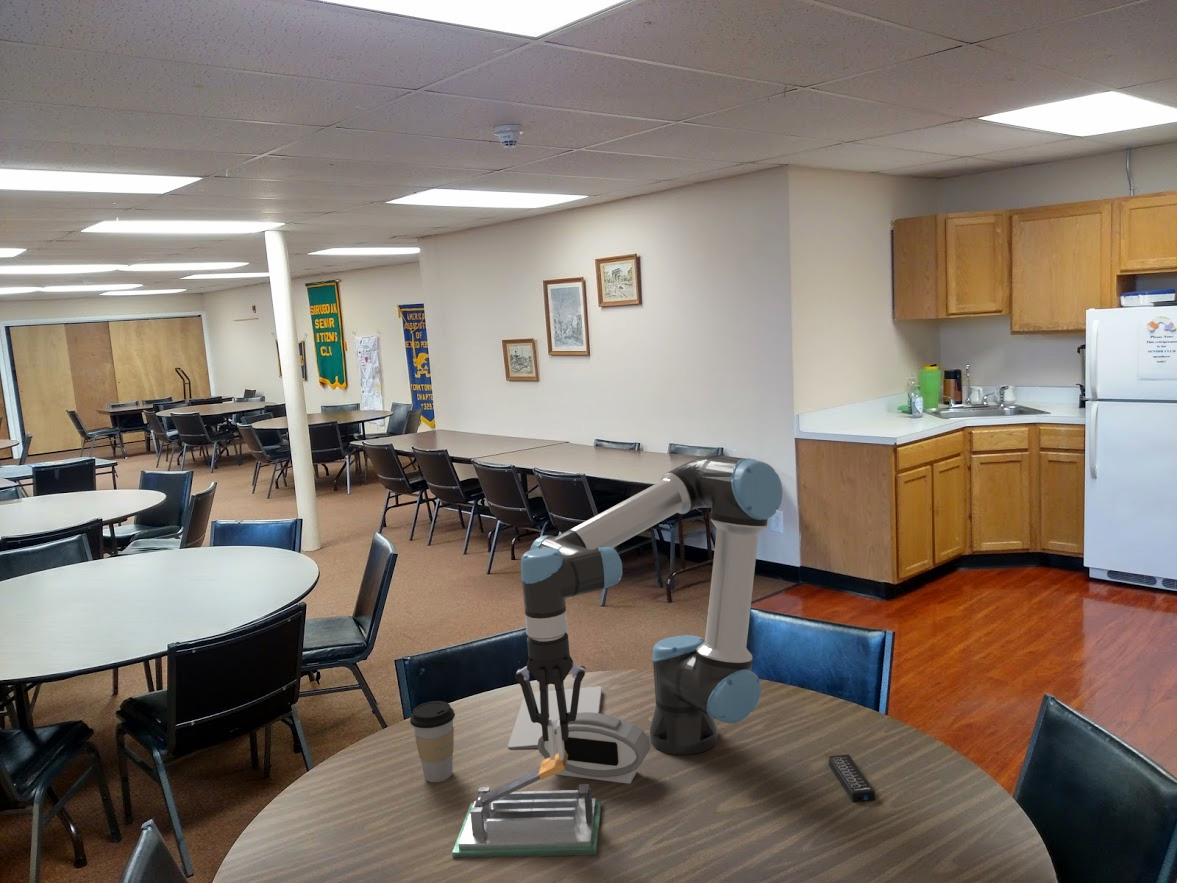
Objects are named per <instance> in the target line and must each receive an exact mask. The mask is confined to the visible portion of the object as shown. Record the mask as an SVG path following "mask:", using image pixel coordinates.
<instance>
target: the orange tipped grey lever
mask: <svg viewBox="0 0 1177 883" xmlns="http://www.w3.org/2000/svg"><path fill="white" fill-rule="evenodd" d="M567 759H568V754H567V752H566V751H565V753H564V758H563V760H559V753H558V754H556V755H555V759H554V760H550V757H549V758H547V759H545V758H544V759H543V760H541V763H540V767H538V768H536V769H534V770H532V771H530V772H528V773H525V774H524V775H522V776H519V777H517V778H515V779H513V780H511V781H509V782H507V783H505V784H503V785H500V786H498V787H496V788H493V789H492V790H490V791H489V792H487V793H483V792H481V793H479V795H478V794H477V798H476V800H475V801H476V803H475V806H474V807H483V806H485V805H487V804H489V803H491V802H493V801H496V800H498V799H500V798H502V797H504V796H506V795H508V794H510V793H513V792H518V791H519V790H521V789H523V788H525V787H527V786H529V785H531V784H533V783H535V782H538V781H540V780H541V781H544V780H545V779H547V778H549V777H552V776H554V775H557V774H556V773H558V772H560V771H562V770H564V769H566V764H567Z"/></svg>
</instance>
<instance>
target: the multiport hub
mask: <svg viewBox="0 0 1177 883" xmlns="http://www.w3.org/2000/svg"><path fill="white" fill-rule="evenodd" d="M851 756H852V755H850V754H837V755H829V756H828V766H829V768H830V769H831V771H832V773H833V774H834V775H835V777H836V778H837V780H838V781H839V783H840V785H841V786H842V788H843V789H844V791H845V793H846V794H847V795H848V797H849V798H850V800H851V802H853V803H867V802H874V801H876V790H875V788H874V787H873V786H872V785H871V783H870V781H869V780H868V778H867V777H866V776H865V775H864V773H863V772H862V770H861V769H860V768H859V766H858V764H856V762H855V760H854V759H853V758H852V757H851Z"/></svg>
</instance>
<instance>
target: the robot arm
mask: <svg viewBox="0 0 1177 883" xmlns="http://www.w3.org/2000/svg"><path fill="white" fill-rule="evenodd" d="M782 500H783V485H782V482H781V478H780V476H779V474H778V473H777V472H776V470H775V468H773V467H772V466H771V465H770V464H769V463H766V462H764V461H760V460H757V459H754V458H749V457H748V458H745V457H736V456H729V455H723V454H709V455H704V456H700V457H698V458H695V459H693V460H690V461H687V462H686V463H684V464H681V465H680V466H677V467H675V468H673V469H670V471H667V472H666V473H664V474H662V475H661V478H660V481H658V482H657V483H655V484H653V485H652V486H649V487H647V488H646V489H644V490H642V491H640V492H637V493H636V494H634V495H632V496H630V497H629V498H627V499H625V500H623V501H621V502H619V503H617V504H616V505H614V506H612V507H610V508H608V509H606V510H604V511H602V512H600V513H598V514H596V515H594V516H593V517H591V518H589V519H587V520H585V521H583V522H582V523H580V524H578V525H576V526H574V527H572V528H570V529H568V530H567V531H564V532H562V533H560V534H559V535H556V536H555V535H542V536H539V537H537V538H536V539H535V540H534V541H533V543H532V544H531V546H530V548H529V550H528V551H526V552H524V553H523V555H522V556H521V557H520V580H521V585H522V595H523V606H524V620H525V621H524V622H525V631H526V632H525V633H526V635H527V638H526V642H527V643H526V645H527V654H528V660H527V662H526V666H524V667H523V668H518V669H517V671H516V673H515V676H514V678H515V680H516V681H517V682H518V684H519V685H520V688H521V690H522V693H523V694H522V695H523V698H525V701H526V705H527V708H528V711H529V715H530V718H531V721H532V722H533V723H536V722H537V723H540V724H541V726H542V735H543V740H544V741H549V750H550V760H554V759H555V755H556V746H555V735H554V723H553V720H549V716H550V715H549V699H548V691H549V685H554V690H556V696H557V704H558V711H559V720H558V721H557V726H556V728H557V740H558V752H559V760H563V758H564V753H565V750H564V740H568V736H569V729H568V723H569V722H570V721H575V720H576V716H577V710H578V701H579V693H580V688H581V684H582V681H583V680H584V678H585V675H586V670H587V669H586V667H585V665H581V666H579V665H578V664H575V663H574V661H573V658H572V657H571V653H570V640H569V633H567V632H568V628H569V627H568V619H567V606H566V605H567V602H566V600H567V599H568V598H571V597H575V596H579V595H583V594H584V595H585V594H587V593H592V592H595V591H599V590H605V589H607V588H610V587H612V586H615V585H617V584H618V583H619V582H620V581H621V579H622V577H623V563H622V558H621V557H620V555H619V553H618V551H617V550H616V549H614V548H615V547H617V546H619V545H620V544H622V543H624V542H626V541H628V540H630V539H631V538H633V537H635V536H637V535H638V534H640V533H643V532H644V531H646V530H648V529H651V528H652V527H653V526H655V525H657V524H659V523H660V522H663V521H664V520H666V519H667V518H670V517H671V516H673V515H675V514H677V513H678V514H680V515H685V514H687V513H688V512H691V511H693V510H695V509H700V508H710V510H711V513H710V522H712V524H713V525H714V526H715V528H716V534H715V544H714V551H713V553H714V554H713V562H712V570H711V572H712V573H711V579H710V580H711V581H710V591H709V600H708V610H707V619H706V627H705V628H706V629H705V636H704V637H705V638H703V637H702V636H699V635H693V634H689V635H688V634H683V635H676V636H670V637H666V638H663V639H661V640H659V641H657V642H656V643H655V644H654V646H652V647H653V648H652V660H651V661H652V666H653V680H654V683H653V684H654V695H655V696H654V697H655V709H654V712H653V717H652V718H651V719H652V720H651V724H650V726H649V740H650V743H651V745H652V746H653V747H654V748H656V749H658V750H659V751H662V752H664V753H666V754H667V753H668V754H673V755H683V756H684V755H686V756H687V755H694V754H699V753H702V752H705V751H708V750H710V749H711V748H713V747H714V746H715V745H716V744H717V742H718V739H719V735H718V734H719V733H718V732H719V731H718V727H717V724H716V721H715V720H717V721H720V722H723V723H725V724H736V723H739V722H741V721H744V720H745V719H746V718H747V717H749V716H750V714H751V713H752V712H753V711H754V710H755V708H756V707H757V705H758V704H759V702H760V701H759V700H760V697H761V693H762V683H761V680H760V679H759V677H758V675H757V674H756V673H755V672H754V671H752V666H753V654H752V653H751V652H750V651H749V650H748V648H747V644H748V633H749V624H750V614H751V607H752V596H753V590H754V589H753V588H754V577H755V572H756V571H755V569H756V561H757V560H756V559H757V551H758V543H759V541H758V540H759V535H760V533H761V532H762V531H763V530H766V528H767V527H768V520H769V519H770V518H772V517H773V516H775V514H777V510H779V508H780V506H781V504H782ZM571 672H572V678H573V679H574V680H573V681H574V682H573V685H572V689H573V693H572V701H571V709H570V712H568V713H567V706H566V699H565V691H564V689H565V686H564V685H565V684H564V681H565V679H566V678H567V676H568V675H569V673H571ZM530 675H531V676H532V677H533V678H534V679H535V680H536V681H537V683H538V686H539V687H538V688H539V692H540V708H541V713H539V711H538V708H537V704H536V701H535V697H534V694H533V692H534V691H533V688H532V685H531V680H530Z"/></svg>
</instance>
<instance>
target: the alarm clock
mask: <svg viewBox="0 0 1177 883" xmlns="http://www.w3.org/2000/svg"><path fill="white" fill-rule="evenodd" d="M558 720H559V719H557V720H555V721H554V722H553V723H554V735H555V746H556V754H558V753H559V752H558V740H557V728H556V726H557V721H558ZM568 729H569V736H568V740H564V750H565V751H566V752H567V754H568V759H567V764H566V769H564V770H562V771H560V772H558V773H556V774H555V775H558V776H566V777H573V778H575V777H576V778H582V779H590V780H599V781H607V782H613V783H623V784H631V783H632V781H633V779H634V778H635V776H636V775H637V769H638V768H639V767H640V766H641V765H642V764H643V762H644V760H645V758H646V756H647V754H648V753H649V751H650V749H651V745H652V743H651V741H650V736H648V735H647V734H646V732H645V731H644V730H643V729H641V728H640V727H639V726H637V725H636V724H634V723H632V722H630V721H627V720H625V719H623V718H619V717H616V716H613V715H608V714H605V713H601V712H599V713H591V712H583V713H577V716H576V720H575V721H570V722H569V723H568ZM537 746H538V748H537V749H538V752H539V753H540V755H541V756H542V757H543V758H544V760H545V759H547V758H549V757H550V750H549V741H544V740H543V735H542V736H541V737H540V738H539V740H538V745H537Z"/></svg>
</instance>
